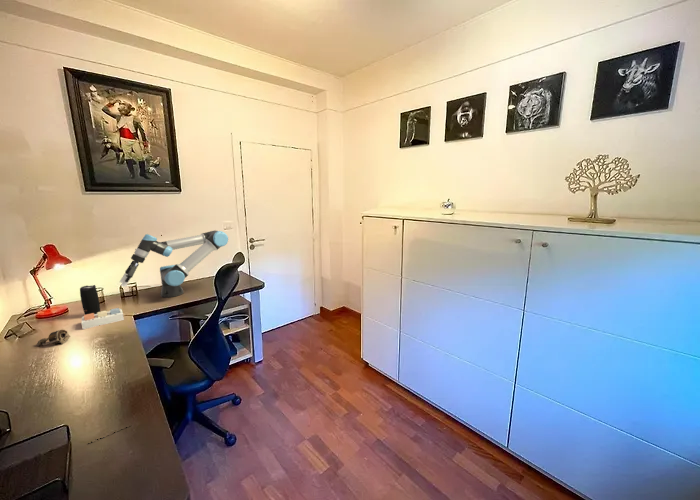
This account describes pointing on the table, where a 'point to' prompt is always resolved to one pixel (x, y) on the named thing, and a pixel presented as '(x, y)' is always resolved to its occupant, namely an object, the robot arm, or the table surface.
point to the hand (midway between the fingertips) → (122, 284)
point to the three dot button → (89, 316)
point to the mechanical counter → (55, 338)
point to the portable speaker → (89, 299)
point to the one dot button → (114, 311)
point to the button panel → (102, 320)
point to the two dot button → (102, 313)
